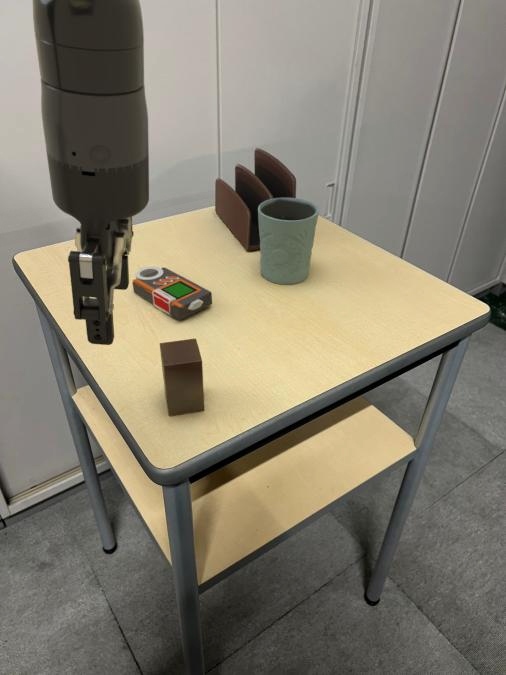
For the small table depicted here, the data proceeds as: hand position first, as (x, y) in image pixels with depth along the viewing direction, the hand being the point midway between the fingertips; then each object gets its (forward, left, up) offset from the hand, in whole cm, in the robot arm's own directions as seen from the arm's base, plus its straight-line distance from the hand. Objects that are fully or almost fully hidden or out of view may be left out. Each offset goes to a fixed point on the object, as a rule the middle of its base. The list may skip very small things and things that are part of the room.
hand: (110, 313), depth 50 cm
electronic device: (+8, +30, -18) cm, 35 cm away
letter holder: (+28, +53, -18) cm, 62 cm away
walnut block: (+7, +5, -18) cm, 19 cm away
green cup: (+29, +34, -18) cm, 48 cm away
